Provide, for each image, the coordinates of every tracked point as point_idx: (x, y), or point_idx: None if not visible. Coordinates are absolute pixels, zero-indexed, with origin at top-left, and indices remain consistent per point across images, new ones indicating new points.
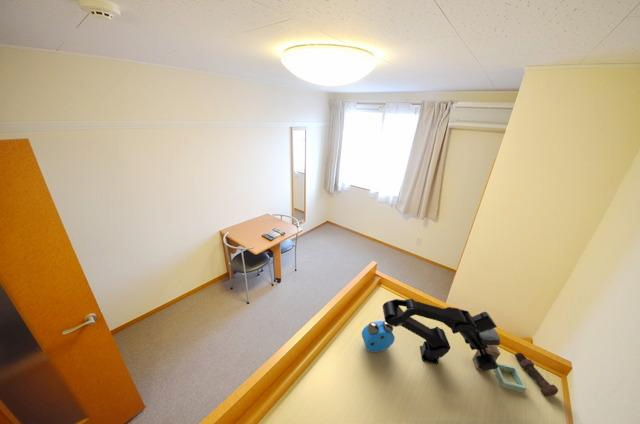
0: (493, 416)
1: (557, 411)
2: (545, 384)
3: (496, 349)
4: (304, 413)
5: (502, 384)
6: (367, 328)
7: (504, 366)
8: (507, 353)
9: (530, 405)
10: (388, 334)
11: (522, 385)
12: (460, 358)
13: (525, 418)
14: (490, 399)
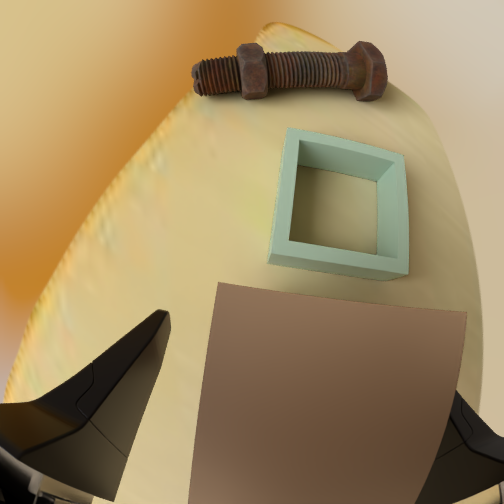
0: (478, 379)
1: (410, 104)
2: (357, 65)
3: (400, 357)
4: None
5: (397, 277)
6: None
7: (293, 193)
8: (180, 122)
9: (428, 184)
10: None
11: (395, 166)
12: None
13: (472, 245)
14: None
